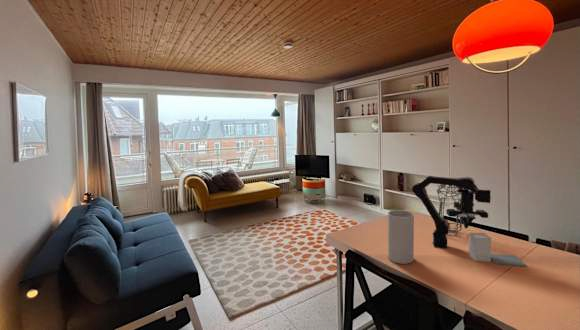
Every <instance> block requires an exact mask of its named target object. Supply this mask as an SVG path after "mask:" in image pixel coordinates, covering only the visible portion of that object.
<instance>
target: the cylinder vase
mask: <svg viewBox="0 0 580 330" xmlns="http://www.w3.org/2000/svg"><path fill="white" fill-rule="evenodd" d="M414 220H415V214H414V212H411V211H408V210H401V209H397V210H396V209H395V210H389V211H388V212H387V245H388V246H387V253H388V255H387V257H388V259H389V260H390V261H391V262H393V263H395V264H399V265H408V263H409V264H412V263H413V262H414V251H415V250H414V244H415V243H414V237H415V236H414V235H415V233H414V232H415V231H414V229H415V225H414V224H415V221H414Z"/></svg>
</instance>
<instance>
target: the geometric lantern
mask: <svg viewBox="0 0 580 330" xmlns="http://www.w3.org/2000/svg"><path fill="white" fill-rule="evenodd" d="M437 187H438V188H437V189H436V190H435V191H436V192H437V195H438V200H439V207H438V213H439V215H440V216H441V217H442V218H443V219H444V214H445V213H444V212H445V204H446V202H445V201H446V199H447V200H451V199H452V200H453V201H454V202H458V203H459V204H460V201H461V198H460V197H459V195H460V196H461V192H459V193H457V191H458V190H459V189H460V188H459V187H457V186H453V185H443V184H438V185H437ZM442 189H444V190H446V191H444V190H442ZM456 189H457V190H456ZM448 194H450V195H449V196H448ZM453 194H454V195H453ZM443 195H444V197H443ZM440 196H441V197H440ZM454 197H457V198H454ZM456 200H457V201H456ZM454 202H453V203H452V202H447V204H449V205H451V204H452V205H454ZM456 211H461V210H458V209H457V208H456ZM448 223H449V224H450V225H455V226H454V227H452V229H450V230H449V232H448V234H447V235H446V236H449V233H450V234H451V236H452V237H453V236H455V237H456V236H458V233H459V232H461V231H462V226H463V225H462V224H463V221H462V219H461V218H460V217H459V216H458V215H457V216H456V223H454V222H448ZM458 229H459V230H458Z"/></svg>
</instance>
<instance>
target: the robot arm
mask: <svg viewBox="0 0 580 330" xmlns="http://www.w3.org/2000/svg"><path fill="white" fill-rule="evenodd" d="M430 184H433V185H434V184H435V185H441V184H443V185H446V186H449V185H452V187H454V186H455V187H456V186H457V187H459V188H460V189H459V190H458V189H457V190H458V191H456V193H461V194H460V199H461V201H459V203H458V201H456V202H455V201H454V202H453V208H447V209H446V210H445V214H446V215H447V216H448V217H451V218H453V217H456V218H457V215H458V216H459V219H460V218H461V219H462V224H463V226H464V229H466V230H467V229H468V228H469V226H470V225H471V223H472V222H473V221H474V220H476V219H477V218H476V216H479V217H480V218H481V219H482V218H484V219H489V213H488V212H487V211H486V210H484V209H476V210H475V211H474V206H475V203H474V201H477V203H485V204H491V200H492V197H491V190H490V189H479V188H478V186H477V185H476V183H475V180H474V179H473V178H472V177H470V176H468V177H467V176H466V177H456V178H455V177H444V176H443V177H442V176H433V175H428V176H427V177H425V179H424V180H422V181H421V182H417V183H415V184H414V185H413V186H412V187H411V191H412V193H414V195H415V196H416V197H417V198H418V199H420V201H421V202H422V204H423V206H424V207H425V209H426V210H427V212H428V213H429V216H430V217H431V218H432V220H433V222H434V225H435V229H434V231H433V233H432V237H433V238H432V245H433V247H434V248H443V249H447V248H448V237H447V236H448V235H449V232H450V231H449V230H451V224H449V223H450V222H449V221H448V219H447V218H445V219H444V217H443V218H442V217H441V215H439V210H437V209H436V207H435V205H434V204H433V202H432V200H431V198H430V197H429V196H428V192H427V189H426V187H428V186H429V185H430ZM457 209H458V210H459V211H457ZM460 210H461V211H460ZM447 234H448V235H447Z"/></svg>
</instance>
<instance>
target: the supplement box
mask: <svg viewBox="0 0 580 330" xmlns="http://www.w3.org/2000/svg"><path fill="white" fill-rule="evenodd" d="M468 235H469V237H468V238H469V240H468V256H469V257H470V258H471V259H472V260H474V261H475V262H489V263H490V262H492V260H491V254H492V237H491V236H489V235H488V234H486V233H485V232H469V233H468Z"/></svg>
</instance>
